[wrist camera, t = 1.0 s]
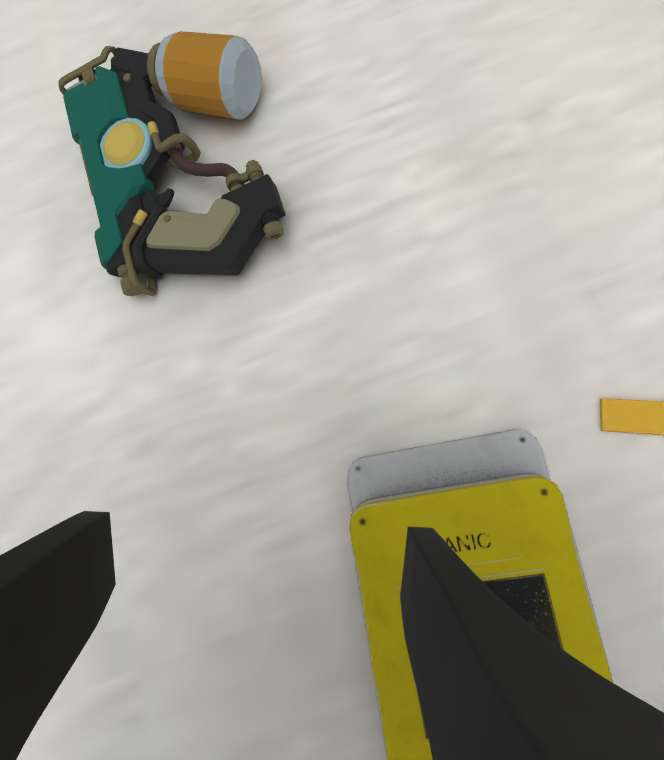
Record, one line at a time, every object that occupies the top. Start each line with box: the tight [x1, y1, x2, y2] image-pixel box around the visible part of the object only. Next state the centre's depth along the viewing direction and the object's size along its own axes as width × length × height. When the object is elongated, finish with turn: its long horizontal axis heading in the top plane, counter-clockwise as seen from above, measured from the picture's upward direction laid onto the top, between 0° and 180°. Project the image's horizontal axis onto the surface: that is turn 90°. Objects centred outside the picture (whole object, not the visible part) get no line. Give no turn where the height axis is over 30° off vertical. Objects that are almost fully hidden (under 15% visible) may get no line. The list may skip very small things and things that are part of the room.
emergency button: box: [348, 430, 613, 760], centre depth 20 cm, size 9×4×15 cm
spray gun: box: [59, 31, 285, 296], centre depth 29 cm, size 4×17×15 cm
